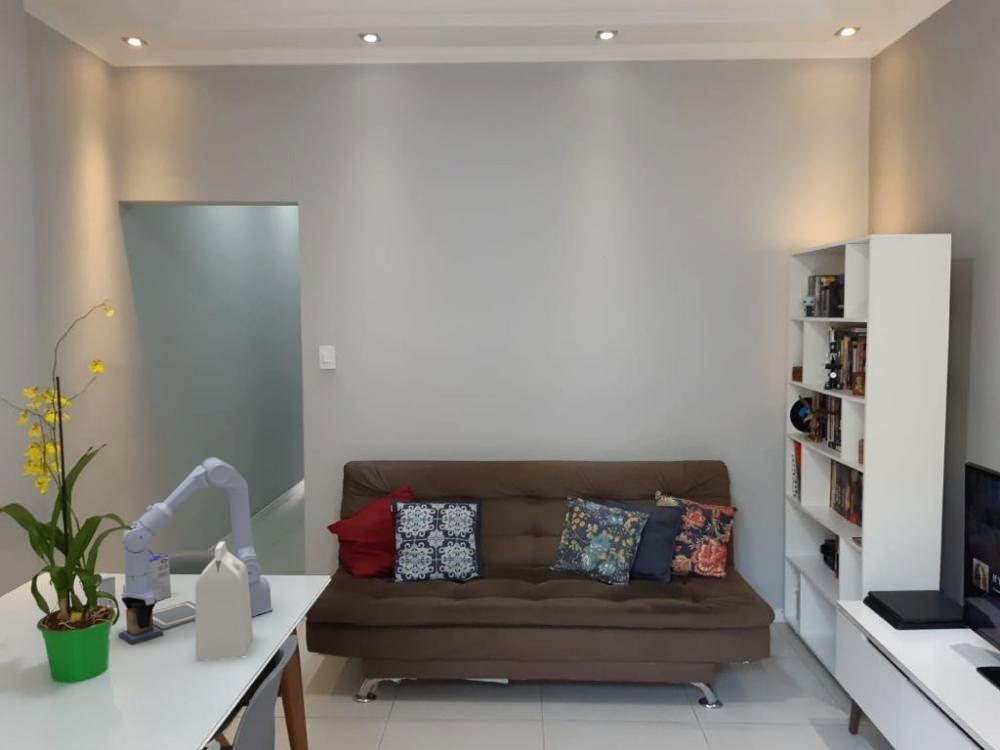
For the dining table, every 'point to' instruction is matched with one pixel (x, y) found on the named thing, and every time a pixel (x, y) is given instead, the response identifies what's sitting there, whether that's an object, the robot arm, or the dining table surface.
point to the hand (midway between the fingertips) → (140, 625)
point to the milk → (223, 608)
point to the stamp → (136, 623)
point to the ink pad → (140, 636)
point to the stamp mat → (174, 615)
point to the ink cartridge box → (159, 575)
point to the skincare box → (107, 588)
